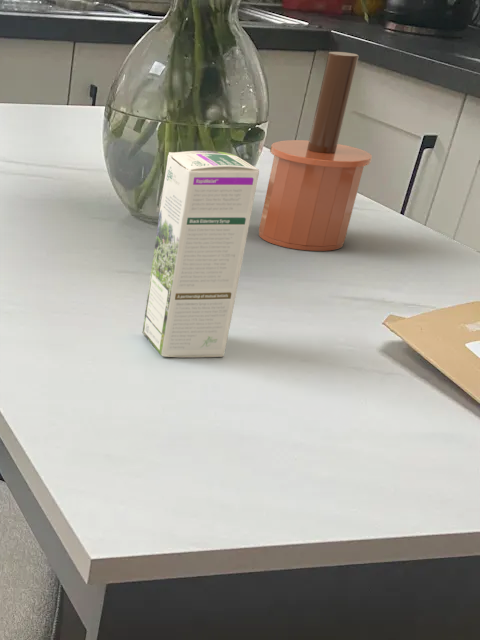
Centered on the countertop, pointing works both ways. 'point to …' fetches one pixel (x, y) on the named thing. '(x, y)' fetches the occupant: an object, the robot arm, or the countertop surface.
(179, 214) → the syrup box
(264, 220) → the jar
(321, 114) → the lid
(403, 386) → the countertop surface
